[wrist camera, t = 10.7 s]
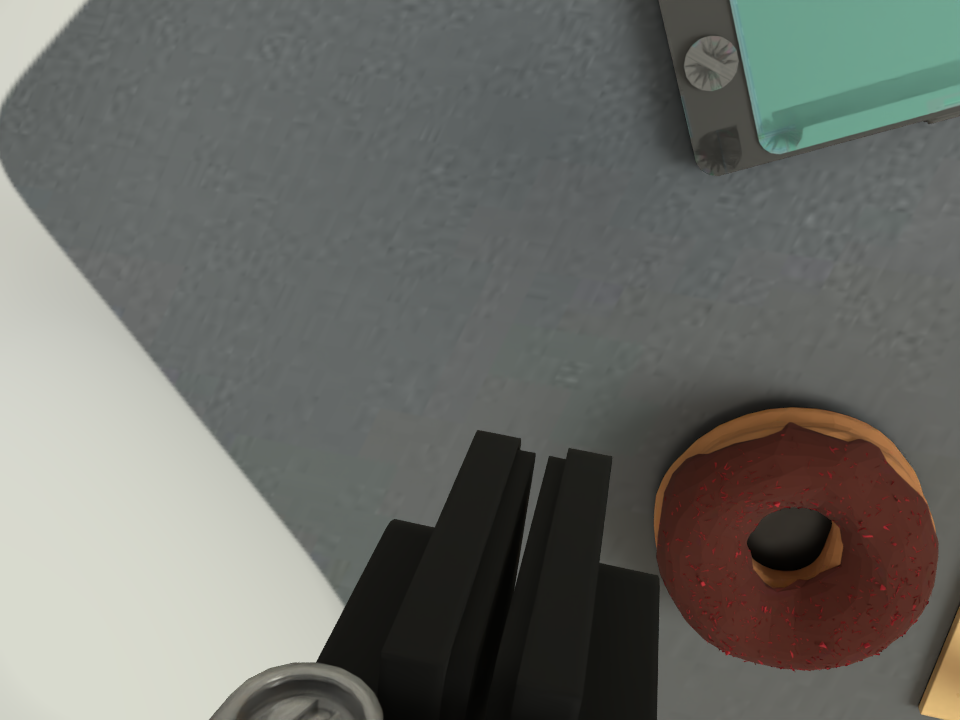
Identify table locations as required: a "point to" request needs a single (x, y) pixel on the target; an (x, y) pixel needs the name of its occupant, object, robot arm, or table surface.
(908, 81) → the smartphone
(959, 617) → the strip
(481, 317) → the table surface
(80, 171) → the table surface
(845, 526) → the donut
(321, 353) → the table surface
